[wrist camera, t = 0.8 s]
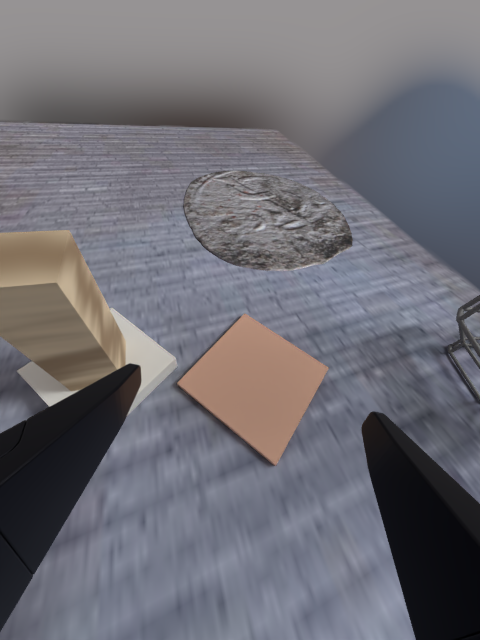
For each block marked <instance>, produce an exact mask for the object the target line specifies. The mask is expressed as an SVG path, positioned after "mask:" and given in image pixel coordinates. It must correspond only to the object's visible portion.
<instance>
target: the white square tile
mask: <svg viewBox="0 0 480 640" xmlns="http://www.w3.org/2000/svg"><path fill="white" fill-rule="evenodd" d="M110 311H111V313H112V315H113V317H114V319H115V321H116V323H117V325H118V327H119V329H120V331H121V333H122V334H123V336H124V338H125V340H126V365H127V364H129V363H132V364H137V365H140V367H141V386H140V388H139V390H138V392H137V395H136V397H135V399H134V401H133V403H132V406H131V408H130V410H129V412H128V414H127V416H128V415H129V414H130V413H131V412H132V411H133V410H134V409H135V408H136V407H137V406H138V405H139V404H140V403H141V402H142V401H143V400H144V399H145V398H146V397H147V396H148V395H149V394H150V393H151V392H152V391H153V390H154V389H155V388H156V387H157V386H158V385H159V384H160V383H161V382H162V381H163V380H164V379H165V378H166V377H167V376H168V375H170V374H171V373H172V372H173V371H174V370H175V369H176V368H177V367H178V366H177V362H176V358H175V357H174V356H172V355H171V354H170V353H169V352H167V351H166V350H165V349H164V348H162V347H161V346H160V345H159V344H157V343H156V342H155V341H153V340H152V339H151V338H150V337H148V336H147V335H146V334H145V333H143V332H142V331H141V330H140V329H138V328H137V327H136V326H135V325H133V324H132V323H131V322H129V321H128V320H127V319H126V318H124V317H123V316H122V315H121V314H119V313H118V312H117V311H116V310H114V309H113V308H111V309H110ZM17 372H18V373H19V374H20V375H21V376H22V378H23V379H24V380H25V381H26V382H27V383H28V384H29V385H30V386H31V387H32V388H33V389H34V391H35V392H36V393H37V394H38V395H39V396H40V397H41V398H42V399H43V400H44V401H45V403H46V404H47V405H48V406H49V407H50V406H52V405H54V404H56V403H57V402H59V401H61V400H63V399H65V398H66V397H68V396H70V395H72V394H74V393H76V392H77V391H79V390H76V391H70V390H69V389H68V388H66V387H65V386H64V385H62V384H61V383H60V382H59V381H57V380H56V379H55V378H53V377H52V376H51V375H50V374H48V373H47V372H46V371H44V370H43V369H42V368H41V367H39V366H38V365H37V364H35V363H34V362H33V361H31V362H29V363H28V364H26V365H25V366H23V367H22V368H20V369H19V370H17Z"/></svg>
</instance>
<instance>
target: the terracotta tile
mask: <svg viewBox="0 0 480 640" xmlns="http://www.w3.org/2000/svg"><path fill="white" fill-rule="evenodd" d="M327 370H328V367H327V366H325V365H324V364H322V363H320V362H319V361H317V360H316V359H314V358H313V357H311V356H310V355H308V354H307V353H305V352H304V351H302V350H300V349H299V348H297V347H296V346H294V345H293V344H291V343H290V342H288V341H287V340H285V339H283V338H282V337H280V336H279V335H277V334H276V333H274V332H273V331H271V330H270V329H268V328H267V327H265V326H263V325H262V324H260V323H259V322H257V321H256V320H254V319H253V318H251V317H250V316H248V315H246V314H244V315H243V316H242V317H241V318H240V319H239V320H238V321H237V322H236V323H235V324H234V325H233V326H232V327H231V328H230V329H229V330H228V331H227V332H226V333H225V334H224V335H223V336H222V337H221V338H220V339H219V340H218V341H217V342H216V344H215V345H214V346H213V347H212V348H211V349H210V350H209V351H208V352H207V353H206V354H205V355H204V356H203V357H202V358H201V359H200V360H199V361H198V362H197V363H196V364H195V365H194V366H193V367H192V368H191V369H190V370H189V371H188V372H187V373H186V374H185V375H184V376H183V378H182V379H181V380H180V381H179V382H178V383H177V385H178V386H179V387H180V388H181V389H183V390H184V391H185V392H186V393H187V394H189V395H190V396H191V397H192V398H194V399H195V400H196V401H197V402H198V403H200V404H201V405H202V406H203V407H204V408H206V409H207V410H208V411H209V412H210V413H212V414H213V415H214V416H215V417H216V418H218V419H219V420H220V421H221V422H222V423H224V424H225V425H226V426H227V427H228V428H230V429H231V430H232V431H233V432H234V433H236V434H237V435H238V436H239V437H240V438H242V439H243V440H244V441H245V442H246V443H248V444H249V445H250V446H251V447H252V448H254V449H255V450H256V451H257V452H258V453H260V454H261V455H262V456H263V457H264V458H266V459H267V460H268V461H269V462H270V463H272V464H273V465H274V466H276V465H277V463H278V461H279V459H280V457H281V455H282V453H283V452H284V450H285V448H286V446H287V444H288V442H289V441H290V439H291V437H292V435H293V433H294V431H295V429H296V428H297V426H298V424H299V422H300V420H301V418H302V417H303V415H304V413H305V411H306V409H307V407H308V405H309V404H310V402H311V400H312V398H313V396H314V394H315V392H316V391H317V389H318V387H319V385H320V383H321V381H322V380H323V378H324V376H325V374H326V372H327Z"/></svg>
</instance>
